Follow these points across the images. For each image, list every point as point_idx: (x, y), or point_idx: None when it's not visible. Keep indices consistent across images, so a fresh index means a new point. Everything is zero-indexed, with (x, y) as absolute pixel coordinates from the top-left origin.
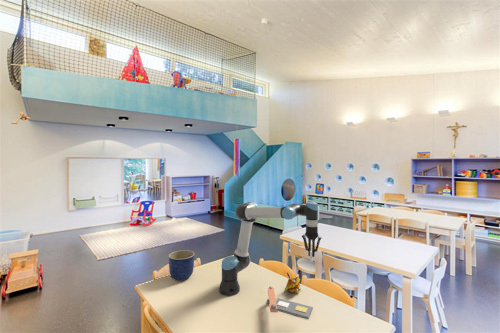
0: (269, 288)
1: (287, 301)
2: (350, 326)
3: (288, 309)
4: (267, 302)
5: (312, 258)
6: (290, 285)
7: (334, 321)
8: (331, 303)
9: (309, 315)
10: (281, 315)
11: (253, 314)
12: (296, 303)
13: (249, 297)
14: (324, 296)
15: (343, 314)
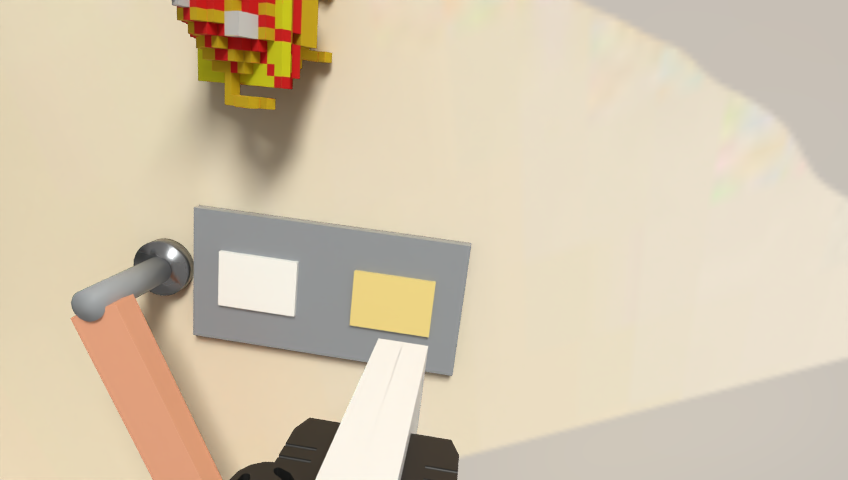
0: (85, 320)
1: (275, 233)
2: (729, 369)
3: (307, 331)
4: None
5: (413, 430)
6: (231, 79)
7: (625, 347)
8: (618, 114)
9: (455, 350)
10: (282, 384)
11: None
12: (344, 238)
13: (11, 250)
14: (560, 10)
15: (701, 244)
